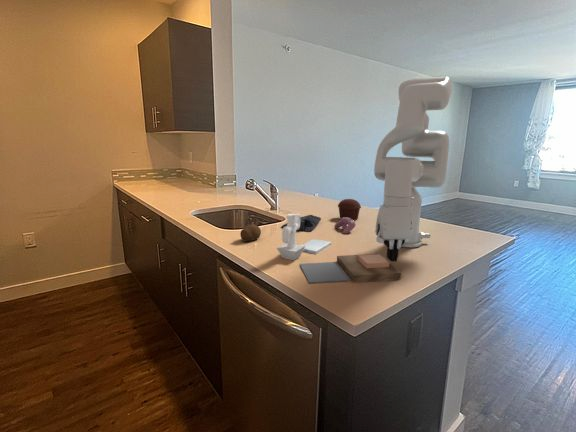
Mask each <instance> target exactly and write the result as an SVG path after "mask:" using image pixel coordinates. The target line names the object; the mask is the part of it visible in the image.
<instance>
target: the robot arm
mask: <svg viewBox="0 0 576 432" xmlns="http://www.w3.org/2000/svg"><path fill="white" fill-rule="evenodd" d="M452 91H453V83H452V80H451V78H450V77H448V76H436V77H435V76H434V77H421V78H413V79H408V80H404V81H403V82H401V83H400V85H399V87H398V101H399V105H398V109H397V117H396V123H395V127H394V128H393V129H392V130H390V131H389V132H388V133H387V134H386V135H385V136H384V137H383V139H382V140H381V141H380V143H379V144H378V147H377V150H376V156H375V160H374V161H375V162H374V169H373V172H374V176H375V178H376V179H377V180H379V181H382V182H384V185H383V186H384V189H383V200H382V202H383V203H382V204H381V205H380V206H379V209H378V212H377V217H376V223H375V231H374V232H375V235H376V239H375V240H376V242H377V243H378V244H383V245H384V246H385V247H386V259H387V260H388V261H389V262H391V263H393V262H397V261H398V258H399V251H400V249H401V248H419V247H420V246H422V245H423V241H422V240H423V239H430V238H431V233H429V232H428V233H427V232H426V233H424V232H422V231H420V222H421V221H420V220H421V213H422V212H421V211H422V205H423V204H422V195H421V194H420V192H419V191H418V189H417V188H434V189H439V188H441V187H443V186H444V184H445V182H446V178H447V177H446V176H447V172H448V171H447V169H448V163H449V161H448V160H449V152H450V151H449V150H450V137H449V135H448V133H447V132H446V131H443V130H429V123H430V116H429V115H428V113H427V111H443V110H445V109H446V107H447V106H448V104H449V102H450V99H451V95H452ZM398 144H401V152H402V155H403V157H402V156H387V154H388V153H389V152H390V150H392V149H393V147H395V146H397V145H398ZM404 156H405V157H404ZM419 158H427V159H428V158H429V159H433V160H421V159H419Z"/></svg>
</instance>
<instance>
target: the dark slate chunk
mask: <svg viewBox="0 0 576 432" xmlns="http://www.w3.org/2000/svg"><path fill="white" fill-rule="evenodd" d="M321 220H322V218H321V217H320V216H317V215H313V214H308V215H304V216H300V228H299V229H298V230H296V232H306V233H307V232H308V233H311V232H312V231H313V230H314V229H315V228H316V227H317V226H318V224H319V223H320V222H321ZM285 226H287V222H286V223H284V224H283V225H281V227H280V228H281V229H283V228H284V227H285Z"/></svg>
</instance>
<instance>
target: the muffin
mask: <svg viewBox="0 0 576 432" xmlns="http://www.w3.org/2000/svg"><path fill="white" fill-rule="evenodd" d="M337 207H338V211H339V212H338V213H339V220H340V219H341V218H343V217H344V218H345V217H348V218H351V219H352V220H354V221H357V220H358V219H359V215H360V210H361V208H362V205H361V203H359V201H357V200H356V199H354V198H345V199H343V200H341V201H339V202H338V204H337Z"/></svg>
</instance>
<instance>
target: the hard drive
mask: <svg viewBox="0 0 576 432" xmlns="http://www.w3.org/2000/svg"><path fill="white" fill-rule="evenodd" d="M302 245H305V248H304V250H303V252H304V253H309V254H312V255H313V254H314V255H317V254H319V253H321V252H322V251H324V250H325V249H327V248H329V247H330V246H332V242H331V241H329V240H328V241H327V240H322V239H317V238H316V239H315V238H312V239H310V240H308V241H306V242H305V243H303V244H302Z"/></svg>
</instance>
